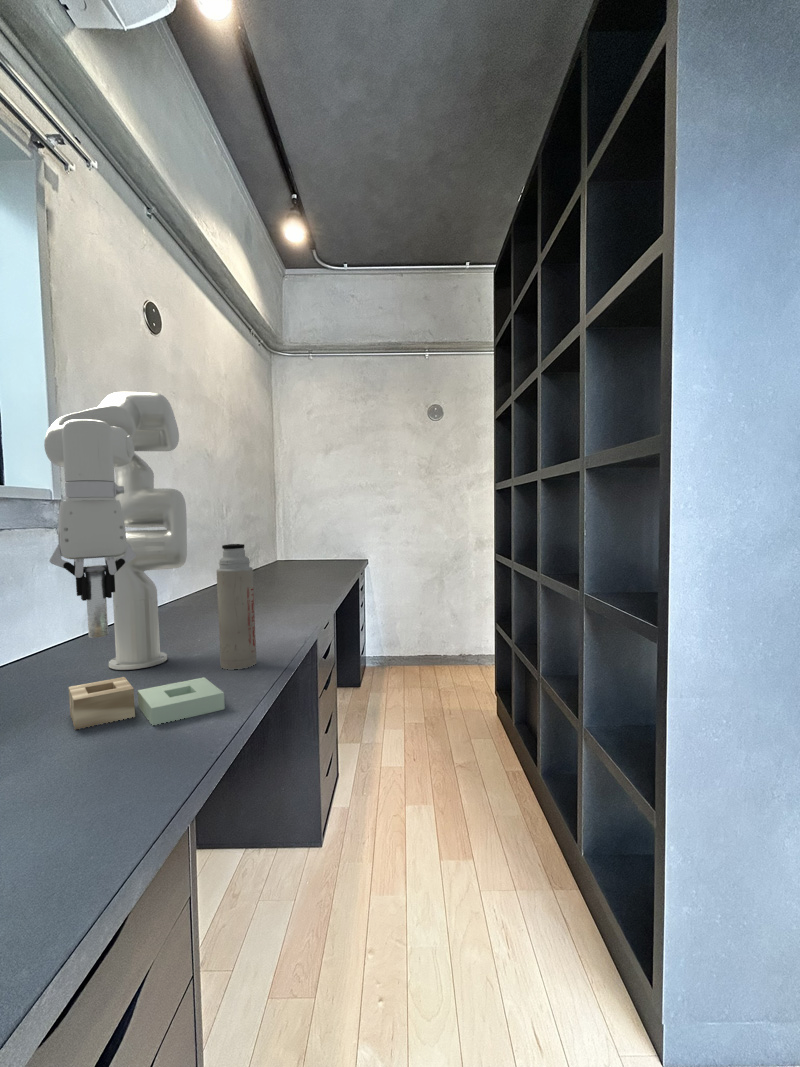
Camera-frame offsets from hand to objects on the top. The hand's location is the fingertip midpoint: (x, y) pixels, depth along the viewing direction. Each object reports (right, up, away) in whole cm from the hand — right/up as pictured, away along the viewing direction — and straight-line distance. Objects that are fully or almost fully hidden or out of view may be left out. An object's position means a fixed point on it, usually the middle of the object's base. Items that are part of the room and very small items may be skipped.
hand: (96, 597), depth 96 cm
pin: (0, -7, 0) cm, 7 cm away
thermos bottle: (+16, -20, +31) cm, 40 cm away
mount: (+1, -21, +1) cm, 21 cm away
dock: (+13, -20, +4) cm, 25 cm away
